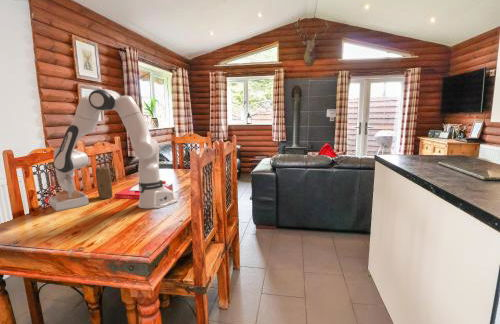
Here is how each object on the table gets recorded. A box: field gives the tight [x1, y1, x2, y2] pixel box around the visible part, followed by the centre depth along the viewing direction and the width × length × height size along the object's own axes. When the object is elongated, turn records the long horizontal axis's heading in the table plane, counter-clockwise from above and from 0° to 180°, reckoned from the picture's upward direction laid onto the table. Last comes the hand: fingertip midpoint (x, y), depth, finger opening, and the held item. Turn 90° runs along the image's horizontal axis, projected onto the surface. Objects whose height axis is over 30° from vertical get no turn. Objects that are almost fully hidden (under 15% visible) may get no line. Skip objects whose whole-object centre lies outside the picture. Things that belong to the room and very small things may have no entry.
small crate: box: [55, 188, 80, 202], centre depth 159 cm, size 10×6×5 cm, turn 136°
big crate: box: [48, 191, 90, 212], centre depth 160 cm, size 16×16×5 cm
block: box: [95, 165, 113, 200], centre depth 173 cm, size 11×8×20 cm
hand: (68, 196), depth 159 cm, fingers closed on small crate, 6 cm apart
